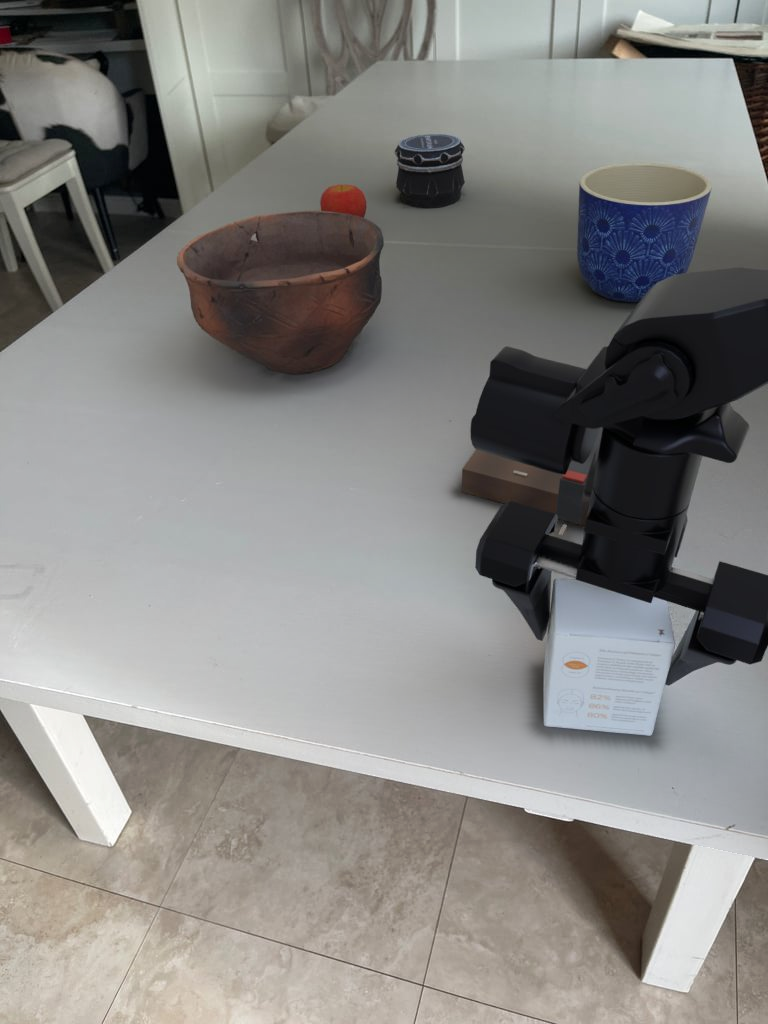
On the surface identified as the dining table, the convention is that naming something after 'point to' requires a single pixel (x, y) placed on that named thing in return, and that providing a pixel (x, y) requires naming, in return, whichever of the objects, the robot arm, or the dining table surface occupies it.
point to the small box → (605, 659)
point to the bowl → (286, 286)
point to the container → (430, 170)
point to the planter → (638, 226)
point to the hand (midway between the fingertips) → (602, 657)
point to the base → (512, 483)
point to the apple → (344, 200)
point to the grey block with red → (575, 488)
